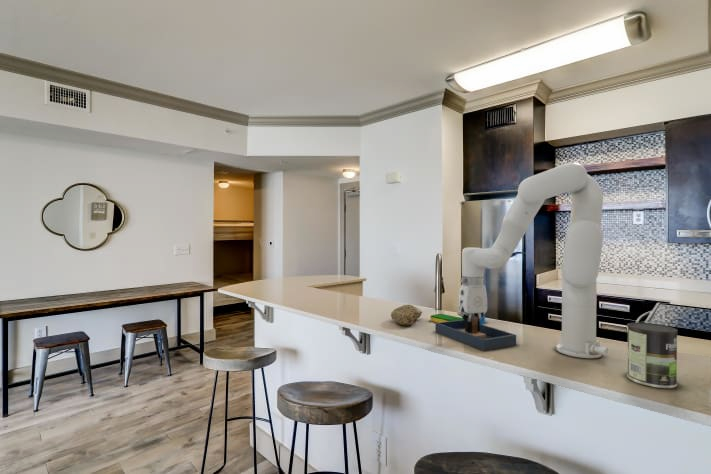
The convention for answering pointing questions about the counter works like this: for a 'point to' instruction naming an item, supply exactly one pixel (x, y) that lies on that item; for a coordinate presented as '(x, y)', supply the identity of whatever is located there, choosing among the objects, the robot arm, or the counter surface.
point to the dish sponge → (443, 318)
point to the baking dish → (492, 340)
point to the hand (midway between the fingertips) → (472, 330)
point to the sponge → (406, 314)
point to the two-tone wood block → (475, 328)
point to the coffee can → (652, 354)
